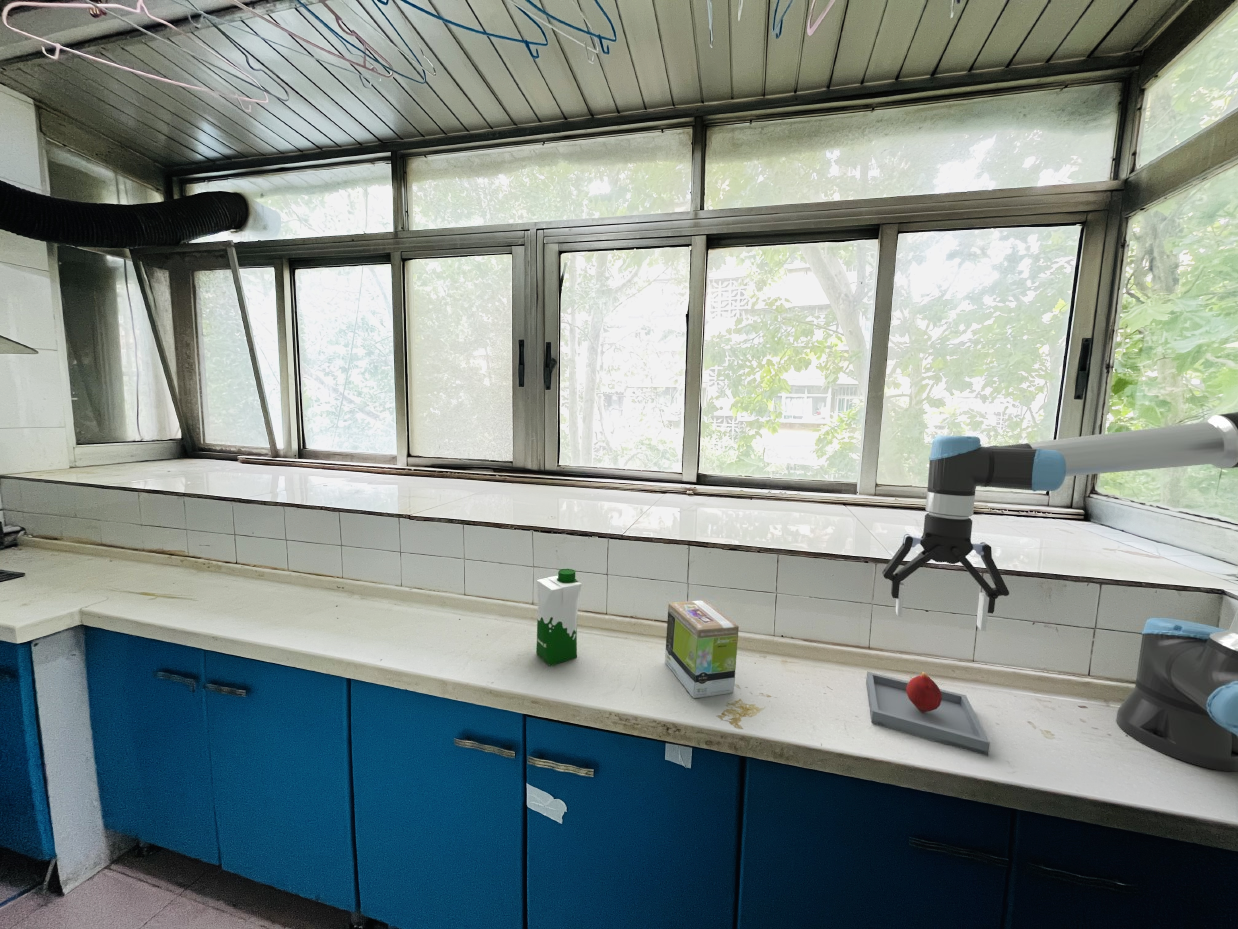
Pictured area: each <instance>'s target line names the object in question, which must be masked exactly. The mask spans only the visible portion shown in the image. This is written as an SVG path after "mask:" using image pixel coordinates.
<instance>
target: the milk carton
mask: <svg viewBox="0 0 1238 929" xmlns="http://www.w3.org/2000/svg"><path fill="white" fill-rule="evenodd" d="M557 574H558V575H554V576H548V577H546V578H540V579H537V580H536V590H537V592H536V593H537V616H536V618H537V621H536V623H537V624H536V625H537V626H536V627H537V628H536V649H535V653H536V654H537V655H538V656H539V657H540V658H541V659H542V660H543V661H544V662H545V663H546V664H548V666H550V667H551V666H555V665H557V664H560V663H563V662H567V661H571V660H573V659H576V658H577V657H578V648H577V647H578V639H577V638H578V637H577V636H578V634H577V633H578V631H577V630H578V611H579V610H578V607H579V606H578V605H579V596H580V592H581V589H582V586H583V584H582V583H581V582H580V581H579V580H577V579H576V570H574V569H572V568H563V569H559V570H558V572H557Z"/></svg>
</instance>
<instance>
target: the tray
mask: <svg viewBox="0 0 1238 929" xmlns="http://www.w3.org/2000/svg"><path fill="white" fill-rule="evenodd" d="M865 678H866V679H865V685H866V691H867V699H868V706H869V714H870V721H871V724H872V725H876V726H880V727H884V728H886V729H890V730H894V731H897V732H899V733H900V732H901V733H904V734H908V735H911V736H916V737H919V738H921V739H925V740H929V741H933V742H937V743H939V744H944V745H947V746H951V747H954V748H958V749H962V750H965V751H968V752H971V753H975V754H978V755H982V756H986V757H989V756H990V755H989V754H990V747H991V742H990V740H989V738H988V736H987V735H986V733H985V730H984V729H983V726H982V724H981V723H980V720H979V718H978V717H977V715H976V714H977V713H975V711H974V709H973V706H972V705H971V702H970V701H969V698H968V696H967V695H966V694H962V693H959V692H954V691H949V690H946V689H942V688H939V689H940V691H941V694H942V701H941V704H940V706H939V707H938V708H937V709H935V710H932V711H927V712H921V711H919V710H918V709H917V708H916V707H915V705H914V704H913V703H912V702H911V701H910V700H909V698H908V696H907V693H906V687H907V685H908V683H909V681H910V680H904V679H900V678H895V677H892V676H888V675H884V674H881V673H875V672H871V671H867V672H866V677H865Z"/></svg>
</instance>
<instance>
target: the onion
mask: <svg viewBox="0 0 1238 929" xmlns="http://www.w3.org/2000/svg"><path fill="white" fill-rule="evenodd" d="M908 681H909V683H908V685H907V687H906V693H907V696H908V698H909V700H910V701H911V702H912V703H913V704H914V705H915V707H916V708H917V709H918V710H919V711H921V712H927V711H932V710H935V709H937V708H938V707H939V706H940V704H941V701H942V694H941V691H940V689H941V688H939V686H938V685H937V683H936V682H935V681H934V680H933V679H931V677H930V676H928V673H927V672H925V671H922V672H921V674H920V675H916V676H915V677H912V678H911V679H910V680H908Z"/></svg>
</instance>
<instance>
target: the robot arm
mask: <svg viewBox="0 0 1238 929" xmlns="http://www.w3.org/2000/svg"><path fill="white" fill-rule="evenodd" d="M928 460H929V465H928V475H927V476H928V478H927V491H926V501H925V511H926V512H928V513H926V514H925V515H924V519H923V520H924V522H923V532H922V533H923V534H922V536H921V537H917V536H912V535H911V534H908V533H907V534H904V536H903V540H902V543H901V545H900V547H899V548H898V550H897V551H896V552H895V554H894V555H893V557H892V558H891V559H890V561H889V562H887V564H886V566H885V568H884V569H883V570H882V575H883V578H884V579H886V580H889V581H890V582H891V588H890V595H891V597H892V598H893V599H896V600H895V613H896V616H897V617H900V618H901V617H903V607H904V606H903V605H904V596H905V595H904V594H905V583H904V582H903V581H904V580H906V578H908V577H909V576H910V575H912V574H913V573H914V572H916V571H917V570H919V569H920V568H921V567H922V566H924V565H925V564H926V563H929V562H930V561H934V562H935V563H946V564H950V565H956V564H958V563H960V565H962V566H963V567H964V569H965V570H966V571H967V572H968V573H969V575H970V576H971V577H972V578H973V579H974V581H976V583H977V584H978V585H979V587H981V589H982V590H983V591H984V592H979V594H978V595H979V598H978V604H977V605H978V606H977V617H976V626H977V627H978V629H979V630H980V631H982V632H986V631H987V623H988V622H987V621H988V614H994V612H995V606H996V600H997V599H998V598H999V597H1002V596H1004V597H1008V596H1009V595H1010V590H1009V589H1008V587H1007V584H1006V583H1005V581H1004V579H1003V577H1002V575H1001V573H1000V571H999V569H998V566H997V565H996V563H995V561H994V559H993V556H992V554H993V553H992V546H991V545H990V544H988V543H986V542H984V541H983V542H982V541H981V542H980V543H972V541H971V540H972V530H973V519H971V518H970V517H972V516H973V515H974V510H975V509H974V508H975V496H976V490H977V487H980V488H996V489H997V488H999V489H1009V490H1022V491H1023V490H1025V491H1032V492H1033V493H1034V492H1040V491H1041V492H1054V491H1057V490H1058V489H1060V488H1061V487H1062V485H1063V484H1064V483H1065V482H1064V481H1065V478H1066V477H1074V476H1086V475H1087V476H1088V475H1089V476H1090V475H1097V474H1107V473H1109V474H1110V473H1111V474H1112V473H1121V472H1122V473H1123V472H1134V471H1144V470H1145V471H1146V470H1154V469H1155V470H1156V469H1167V468H1178V467H1179V468H1180V467H1190V466H1202V465H1211V466H1213V467H1215V468H1219V469H1234V468H1238V411H1237V412H1235V411H1234V412H1230V413H1229V412H1228V413H1222V414H1214V415H1208V416H1207V417H1205V419H1203V420H1202V421H1201V422H1195V423H1194V422H1193V423H1185V424H1177V425H1170V426H1169V425H1168V426H1159V427H1151V428H1144V429H1143V428H1142V429H1135V430H1127V431H1126V430H1125V431H1117V432H1110V433H1109V432H1108V433H1099V434H1091V435H1082V436H1075V437H1068V438H1058V439H1057V438H1056V439H1051V440H1050V439H1049V440H1043V441H1042V440H1041V441H1040V440H1039V441H1034V442H1033V441H1032V442H1026V443H1017V444H1006V445H988V446H982V444H981V438H980V437H978V436H975V435H967V436H966V435H964V436H963V435H941V434H940V435H937V436H935V437H934V438H933V440H932V444H931V449H930V456H929V458H928ZM917 545H920V546H921V547H922V548H923V550H922V551H920V552H918V554H917V556H915V557H913V558H912V559H911V560H909V562H908V563H906V564H905V565H904V566H902V567H901V568H900V569H898V568H899V567H900V565H901V564H902V563H903V561H904V560H905V558H906V557H907V556H908V554H909V553H910V552H911V549H912V548H915V547H916V546H917ZM973 550H974V551H975V553H976V554H977V555H978V556H980V558H981V560H982V562H983V564H984V566H985V568H986V570H987V572H988V574H989V577H990V579H991V581H992V583H993V585H994V587H991V585H990V584H989V583H988V581H986V579H985V578H984V577H983V576H982V575H981V573H980V572H979V571H978V570H977V569H976V568H975V566H974V565H973V564H972V562H970V561H969V559H968V558H967V556H969V555H970V553H972V551H973ZM1141 635H1142V637H1141V643H1140V651H1139V658H1138V662H1137V663H1138V665H1137V671H1136V679H1135V685H1134V688H1133V689H1132V691H1131V692H1130V693H1129V695H1128V696H1126V698H1125V700H1124V701H1123V702H1122V703H1121V705H1120V706H1119V707H1118V709H1117V712H1116V719H1115V721H1116V724H1117V725H1118V726H1119V728H1120V729H1121V730H1123V731H1124V732H1125V733H1126V734H1128V735H1129V736H1130V737H1132V738H1134V739H1135V740H1137V741H1138V742H1140V743H1142V744H1144V745H1146V746H1148V747H1149V748H1151V749H1153V750H1156V751H1158V752H1161V753H1162V754H1164V755H1167V756H1170V757H1172V758H1174V759H1178V760H1180V761H1183V762H1186V763H1189V764H1193V765H1196V766H1199V767H1202V768H1206V769H1207V768H1208V769H1210V770H1215V771H1216V770H1217V771H1224V772H1237V771H1238V609H1237V610H1236V612H1235V614H1234V617H1233V620H1232V622H1231V625H1230V626H1229V628H1228V629H1225V628H1221V627H1217V626H1212V625H1209V624H1203V623H1198V622H1194V621H1187V620H1182V619H1176V618H1170V617H1151V618H1148V619H1147V620H1146V621H1145V625H1144V627H1143V630H1142V632H1141Z"/></svg>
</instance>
